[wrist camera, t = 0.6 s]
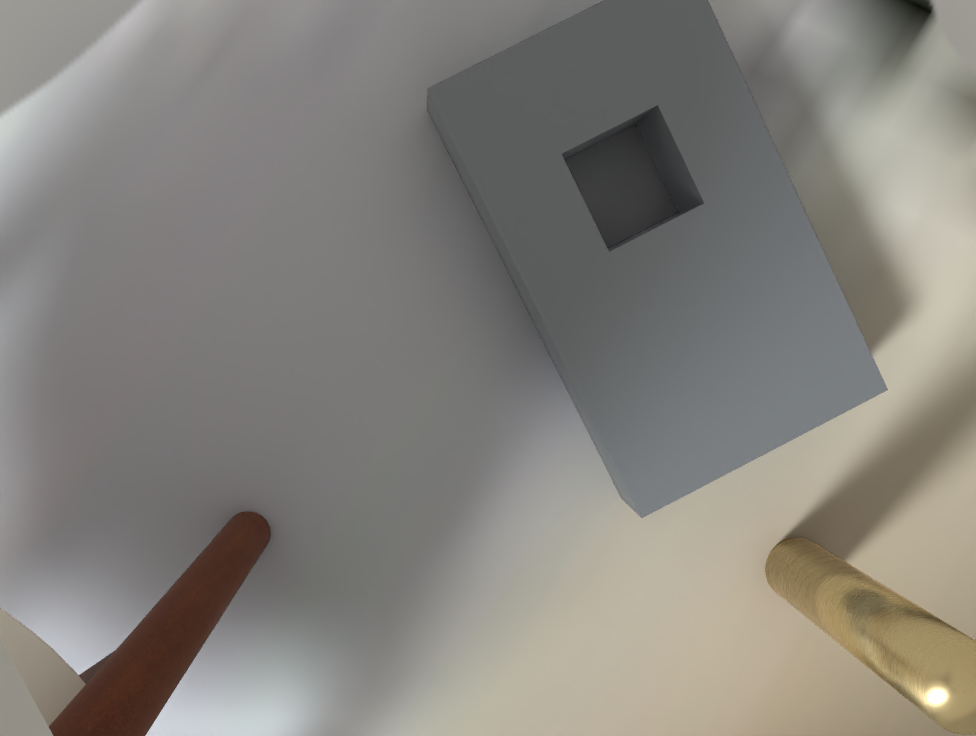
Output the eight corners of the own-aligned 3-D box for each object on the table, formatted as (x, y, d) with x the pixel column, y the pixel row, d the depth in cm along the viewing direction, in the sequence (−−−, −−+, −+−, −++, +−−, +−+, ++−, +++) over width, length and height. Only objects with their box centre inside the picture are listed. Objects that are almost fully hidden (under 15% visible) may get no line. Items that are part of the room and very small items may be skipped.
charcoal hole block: (845, 382, 44) (887, 389, 40) (621, 498, 43) (641, 518, 39) (662, -9, 42) (688, -42, 38) (427, 109, 41) (427, 88, 37)
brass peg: (836, 581, 44) (1026, 707, 30) (781, 609, 44) (947, 749, 30) (810, 526, 44) (990, 629, 30) (755, 555, 44) (910, 672, 30)
